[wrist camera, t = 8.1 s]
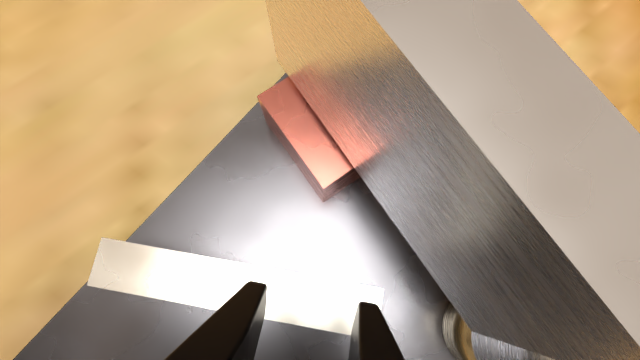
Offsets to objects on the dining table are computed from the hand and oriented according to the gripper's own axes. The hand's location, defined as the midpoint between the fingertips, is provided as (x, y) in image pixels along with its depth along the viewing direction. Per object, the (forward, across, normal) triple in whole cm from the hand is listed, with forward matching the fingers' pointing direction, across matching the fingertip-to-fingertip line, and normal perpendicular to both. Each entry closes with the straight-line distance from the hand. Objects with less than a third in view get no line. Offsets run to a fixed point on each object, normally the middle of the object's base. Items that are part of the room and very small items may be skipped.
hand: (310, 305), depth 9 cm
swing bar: (+5, -3, 0) cm, 5 cm away
